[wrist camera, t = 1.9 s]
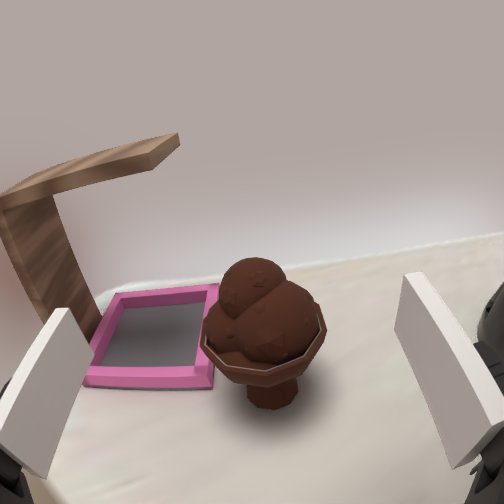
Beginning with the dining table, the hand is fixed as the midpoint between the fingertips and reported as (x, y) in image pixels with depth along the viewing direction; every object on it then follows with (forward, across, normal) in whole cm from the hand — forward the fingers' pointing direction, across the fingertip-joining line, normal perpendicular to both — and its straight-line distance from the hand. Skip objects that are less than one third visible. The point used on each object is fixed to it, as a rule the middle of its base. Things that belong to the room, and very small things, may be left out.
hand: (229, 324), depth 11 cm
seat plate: (+21, -14, -20) cm, 32 cm away
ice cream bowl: (+12, 0, -20) cm, 23 cm away
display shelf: (+21, -17, -20) cm, 34 cm away
